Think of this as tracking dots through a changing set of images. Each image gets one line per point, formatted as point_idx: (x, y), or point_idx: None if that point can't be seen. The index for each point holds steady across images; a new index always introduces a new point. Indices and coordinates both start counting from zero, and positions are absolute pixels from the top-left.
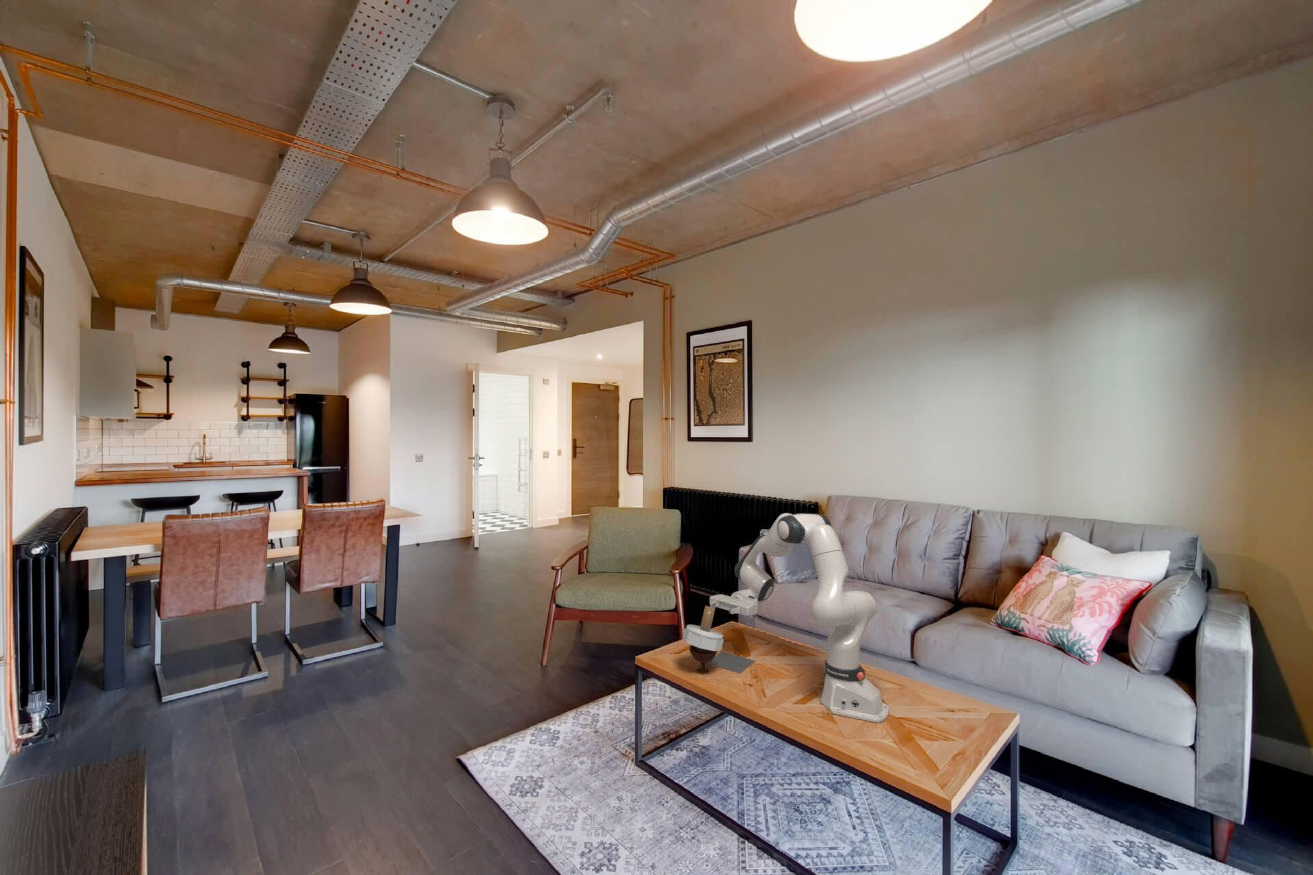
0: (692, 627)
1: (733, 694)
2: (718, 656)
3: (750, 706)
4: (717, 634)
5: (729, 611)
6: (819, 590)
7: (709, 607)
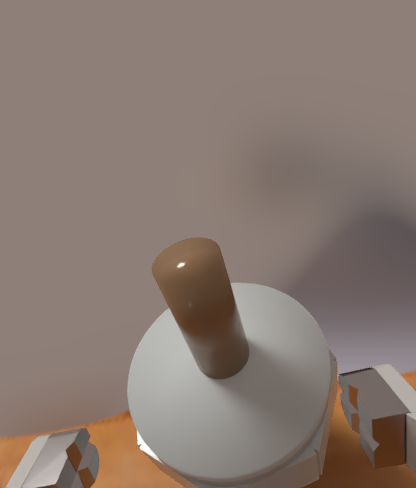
0: (251, 302)
1: None
2: None
3: (25, 447)
4: (157, 392)
5: (85, 444)
6: None
7: (181, 252)
